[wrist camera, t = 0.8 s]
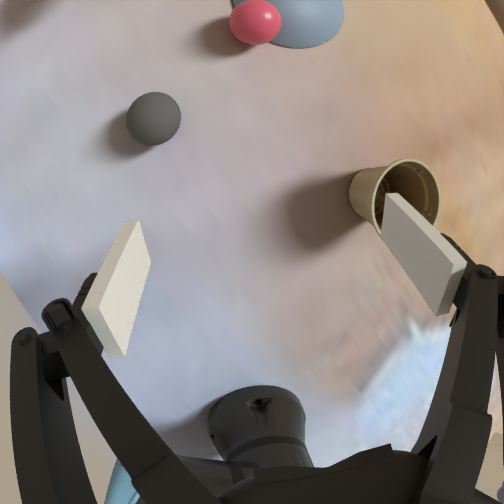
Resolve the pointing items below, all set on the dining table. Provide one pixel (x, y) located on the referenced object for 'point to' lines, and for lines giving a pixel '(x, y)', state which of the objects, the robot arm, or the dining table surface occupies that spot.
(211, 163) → the dining table surface
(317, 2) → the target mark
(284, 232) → the dining table surface
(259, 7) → the cranberry ball
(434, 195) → the flower pot
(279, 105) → the dining table surface
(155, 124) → the grey ball
